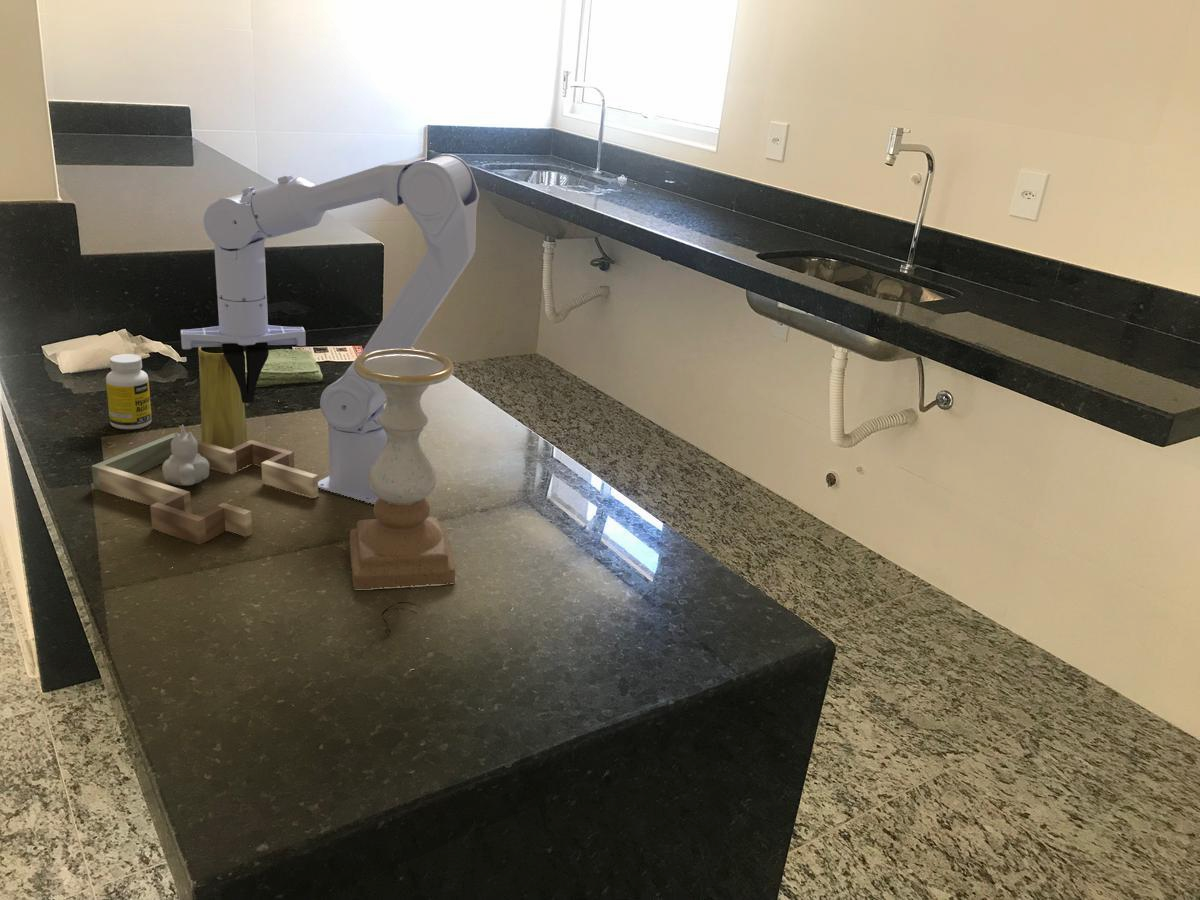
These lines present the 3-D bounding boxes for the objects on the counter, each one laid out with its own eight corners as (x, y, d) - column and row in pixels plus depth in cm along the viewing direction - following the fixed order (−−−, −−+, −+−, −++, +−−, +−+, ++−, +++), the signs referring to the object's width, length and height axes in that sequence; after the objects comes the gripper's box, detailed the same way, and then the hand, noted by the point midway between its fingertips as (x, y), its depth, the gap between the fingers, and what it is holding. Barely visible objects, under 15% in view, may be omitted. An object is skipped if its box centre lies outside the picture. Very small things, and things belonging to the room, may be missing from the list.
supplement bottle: (142, 432, 136) (135, 365, 133) (103, 428, 136) (95, 362, 132) (158, 418, 141) (153, 354, 138) (121, 415, 141) (114, 350, 137)
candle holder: (353, 591, 104) (351, 379, 94) (349, 542, 113) (347, 345, 104) (456, 585, 107) (464, 379, 97) (443, 538, 116) (450, 346, 107)
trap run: (338, 485, 127) (337, 464, 125) (220, 552, 108) (219, 528, 107) (197, 444, 134) (195, 424, 133) (65, 500, 116) (62, 477, 115)
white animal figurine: (208, 472, 126) (204, 415, 123) (212, 494, 121) (208, 435, 118) (162, 476, 124) (157, 418, 121) (165, 499, 119) (159, 438, 116)
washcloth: (326, 385, 162) (326, 367, 160) (213, 393, 154) (212, 374, 152) (310, 361, 172) (310, 343, 171) (203, 367, 164) (202, 349, 163)
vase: (218, 459, 130) (211, 357, 125) (192, 445, 134) (184, 346, 128) (257, 447, 135) (253, 349, 130) (231, 434, 138) (226, 338, 133)
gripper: (178, 305, 113) (187, 414, 118) (307, 303, 119) (310, 407, 124) (177, 290, 119) (185, 394, 124) (300, 289, 125) (303, 389, 130)
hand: (247, 399), depth 124 cm, fingers closed
